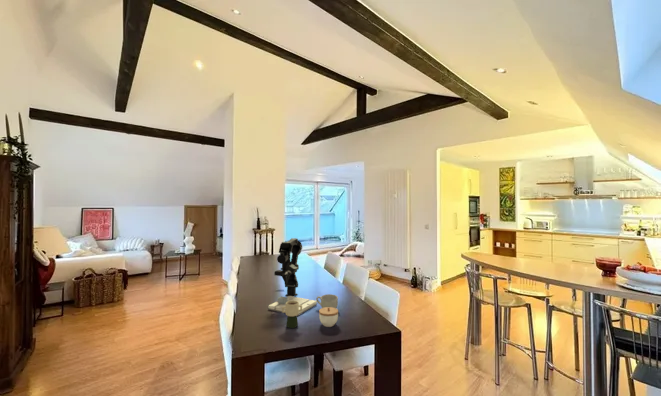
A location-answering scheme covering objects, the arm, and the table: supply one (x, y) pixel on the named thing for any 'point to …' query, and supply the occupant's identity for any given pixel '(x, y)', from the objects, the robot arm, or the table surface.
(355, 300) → the table surface
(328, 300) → the teacup
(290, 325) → the character mug
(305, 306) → the console
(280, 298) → the block
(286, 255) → the robot arm
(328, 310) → the lidded jar
